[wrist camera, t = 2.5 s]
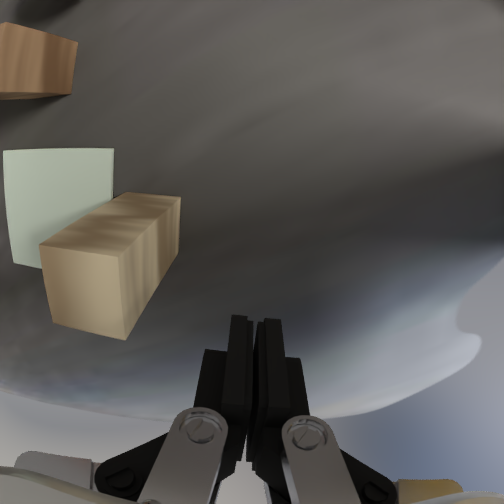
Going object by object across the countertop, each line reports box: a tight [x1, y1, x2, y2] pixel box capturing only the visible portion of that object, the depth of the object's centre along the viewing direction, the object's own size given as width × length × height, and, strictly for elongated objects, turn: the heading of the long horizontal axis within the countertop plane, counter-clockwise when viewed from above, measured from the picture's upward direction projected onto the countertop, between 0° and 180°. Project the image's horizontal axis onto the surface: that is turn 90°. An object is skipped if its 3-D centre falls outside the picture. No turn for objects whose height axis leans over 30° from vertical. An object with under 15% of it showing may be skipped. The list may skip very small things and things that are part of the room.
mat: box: [3, 148, 114, 269], centre depth 21 cm, size 11×10×1 cm
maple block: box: [39, 192, 181, 340], centre depth 17 cm, size 4×4×10 cm
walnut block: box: [0, 22, 78, 100], centre depth 13 cm, size 4×4×8 cm
